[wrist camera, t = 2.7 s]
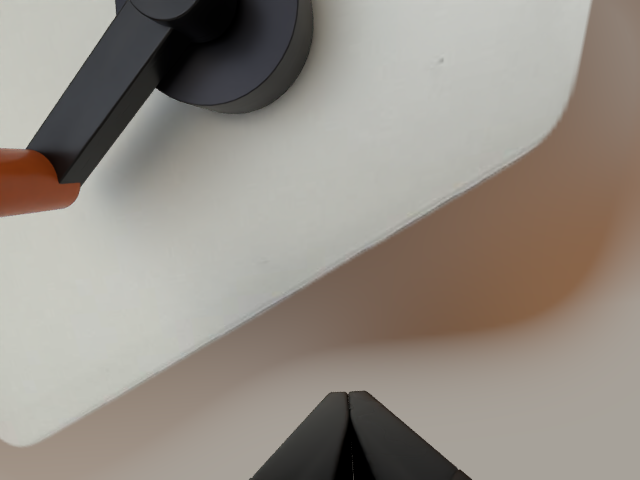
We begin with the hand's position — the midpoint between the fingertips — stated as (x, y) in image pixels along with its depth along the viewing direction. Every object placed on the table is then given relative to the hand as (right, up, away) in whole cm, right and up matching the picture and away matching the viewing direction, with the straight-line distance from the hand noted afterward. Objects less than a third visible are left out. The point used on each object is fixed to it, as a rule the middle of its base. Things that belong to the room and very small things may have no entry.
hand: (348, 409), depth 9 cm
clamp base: (-5, +14, +10) cm, 18 cm away
